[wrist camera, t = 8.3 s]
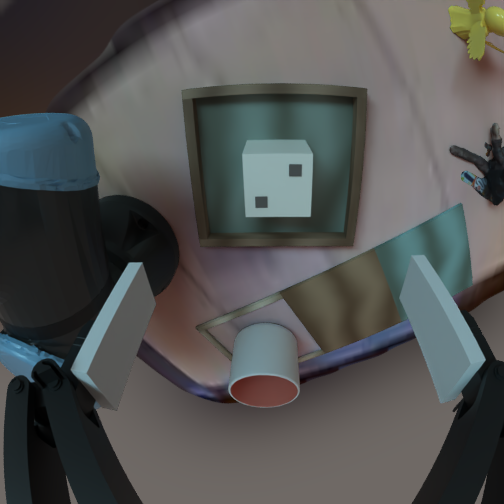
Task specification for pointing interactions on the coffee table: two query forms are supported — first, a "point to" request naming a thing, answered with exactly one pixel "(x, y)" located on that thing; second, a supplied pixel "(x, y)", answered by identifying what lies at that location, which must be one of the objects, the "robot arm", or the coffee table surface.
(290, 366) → the cup
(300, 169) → the die
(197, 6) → the coffee table surface
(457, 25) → the figurine
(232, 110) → the dice tray
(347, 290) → the track
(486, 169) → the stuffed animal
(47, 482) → the robot arm
